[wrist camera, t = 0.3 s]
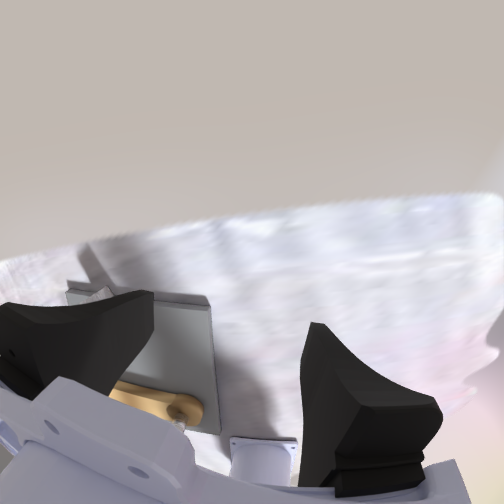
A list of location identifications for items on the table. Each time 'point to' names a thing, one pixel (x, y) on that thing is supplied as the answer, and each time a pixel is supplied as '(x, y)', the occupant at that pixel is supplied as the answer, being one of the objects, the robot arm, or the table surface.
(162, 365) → the base plate
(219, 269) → the table surface
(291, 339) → the table surface
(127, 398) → the link
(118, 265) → the table surface
